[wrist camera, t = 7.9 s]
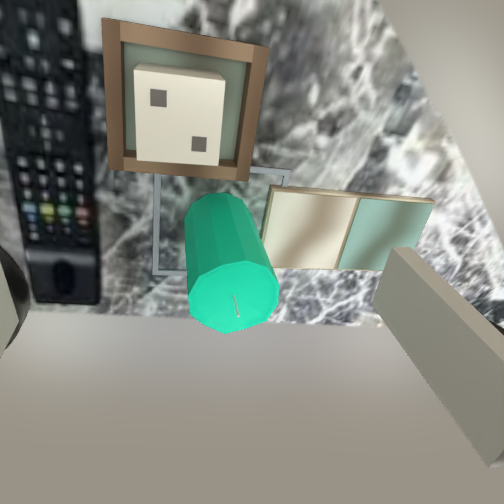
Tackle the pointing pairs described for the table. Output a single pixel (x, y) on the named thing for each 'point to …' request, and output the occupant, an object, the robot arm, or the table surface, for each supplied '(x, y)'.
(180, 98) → the die
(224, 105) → the tray
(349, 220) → the beige green flat slab
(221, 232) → the candle
